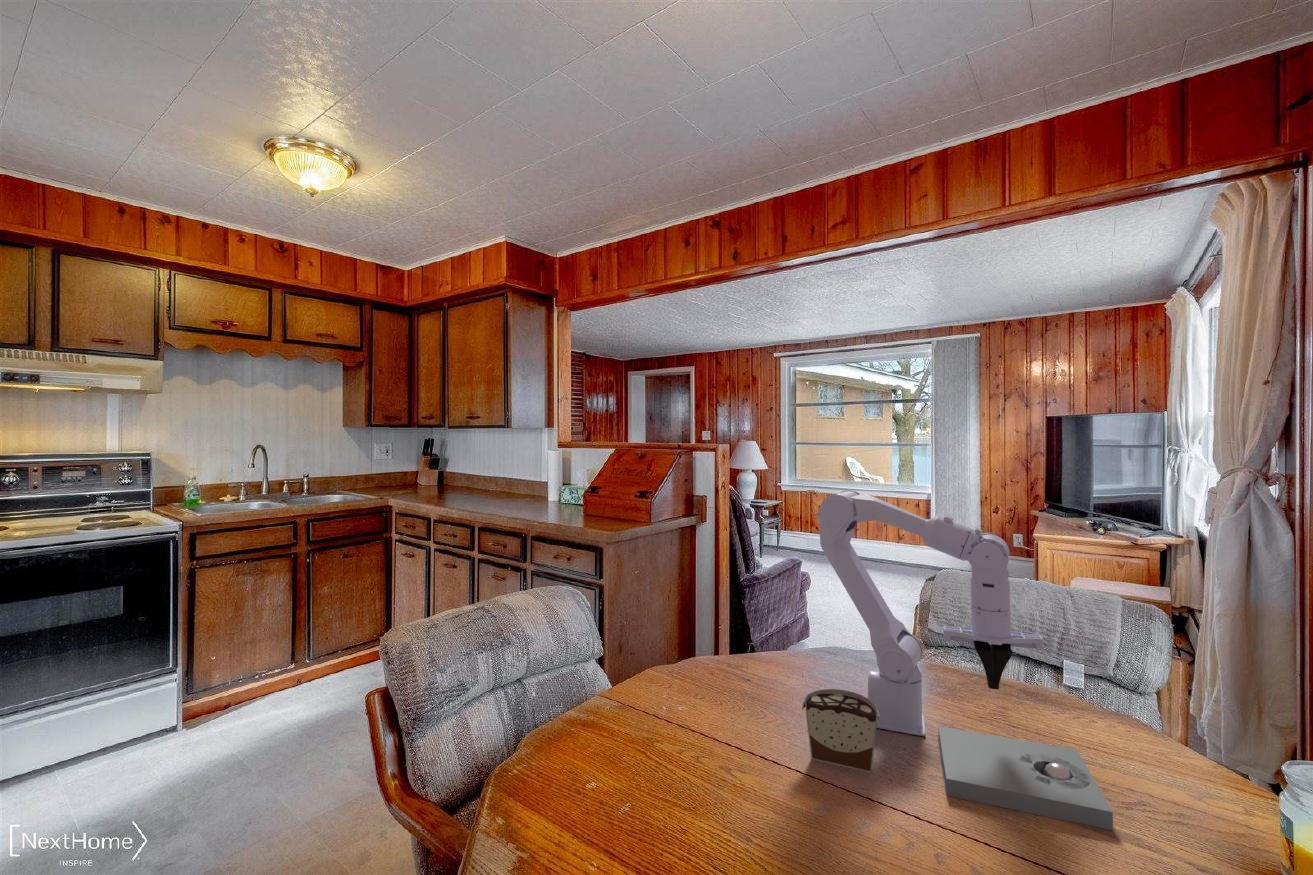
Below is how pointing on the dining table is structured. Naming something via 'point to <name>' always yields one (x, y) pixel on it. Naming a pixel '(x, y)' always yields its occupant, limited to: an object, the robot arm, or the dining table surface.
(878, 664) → the robot arm
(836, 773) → the dining table surface
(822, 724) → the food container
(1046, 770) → the ball
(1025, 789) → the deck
